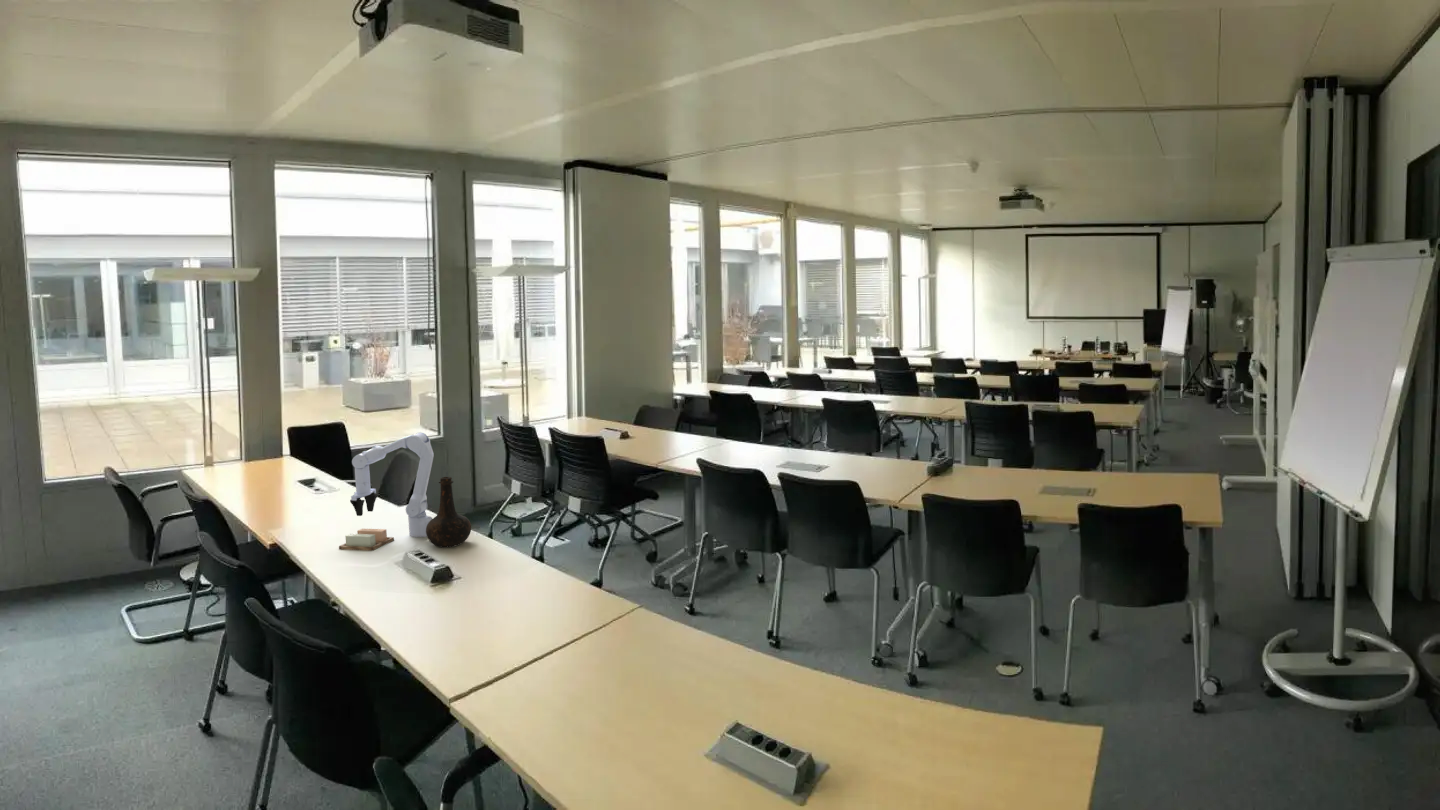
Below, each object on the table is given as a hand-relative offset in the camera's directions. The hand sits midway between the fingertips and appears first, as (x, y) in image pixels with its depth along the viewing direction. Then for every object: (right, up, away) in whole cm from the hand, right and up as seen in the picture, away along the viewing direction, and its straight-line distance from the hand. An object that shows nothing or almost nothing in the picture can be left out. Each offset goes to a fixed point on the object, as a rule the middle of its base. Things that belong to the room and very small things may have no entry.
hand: (365, 513), depth 361 cm
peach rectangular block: (+7, -11, -9) cm, 15 cm away
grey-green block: (+5, -12, -16) cm, 21 cm away
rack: (+6, -12, -12) cm, 18 cm away
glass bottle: (+40, -11, -12) cm, 43 cm away
